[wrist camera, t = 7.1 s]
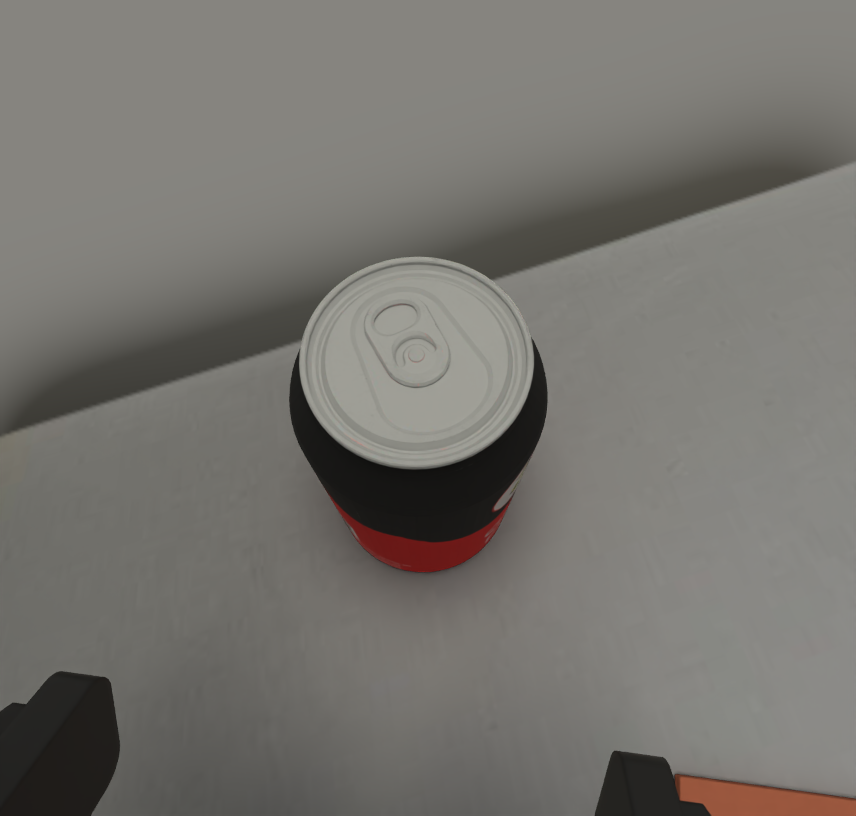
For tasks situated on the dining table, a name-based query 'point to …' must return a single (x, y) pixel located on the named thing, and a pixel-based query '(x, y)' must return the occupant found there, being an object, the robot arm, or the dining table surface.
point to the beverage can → (418, 407)
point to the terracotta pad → (759, 799)
